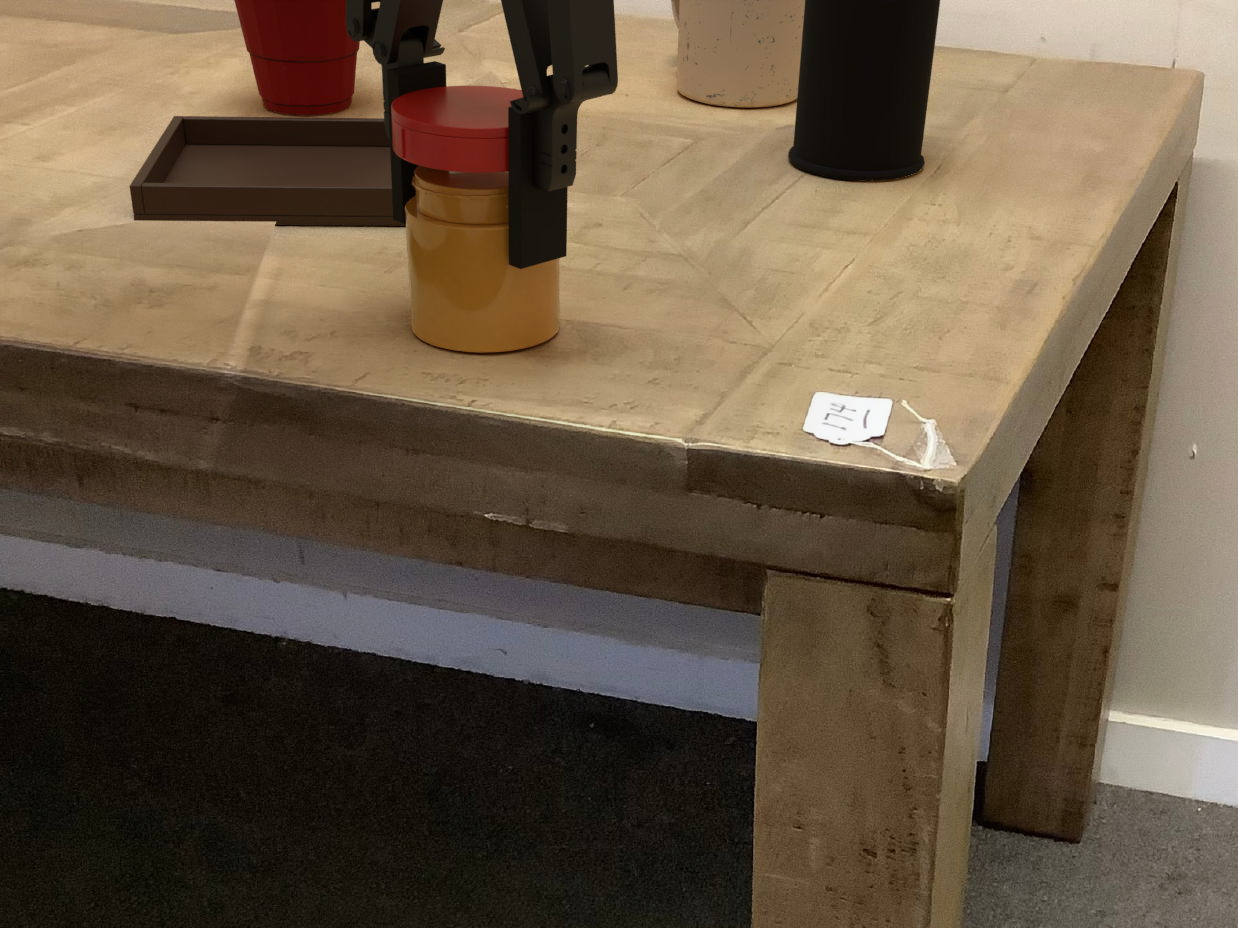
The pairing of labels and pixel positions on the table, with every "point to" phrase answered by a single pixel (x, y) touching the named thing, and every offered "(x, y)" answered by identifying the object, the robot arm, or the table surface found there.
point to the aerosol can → (864, 87)
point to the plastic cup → (300, 54)
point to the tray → (268, 172)
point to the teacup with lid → (739, 51)
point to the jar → (473, 267)
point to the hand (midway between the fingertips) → (477, 236)
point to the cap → (454, 127)
